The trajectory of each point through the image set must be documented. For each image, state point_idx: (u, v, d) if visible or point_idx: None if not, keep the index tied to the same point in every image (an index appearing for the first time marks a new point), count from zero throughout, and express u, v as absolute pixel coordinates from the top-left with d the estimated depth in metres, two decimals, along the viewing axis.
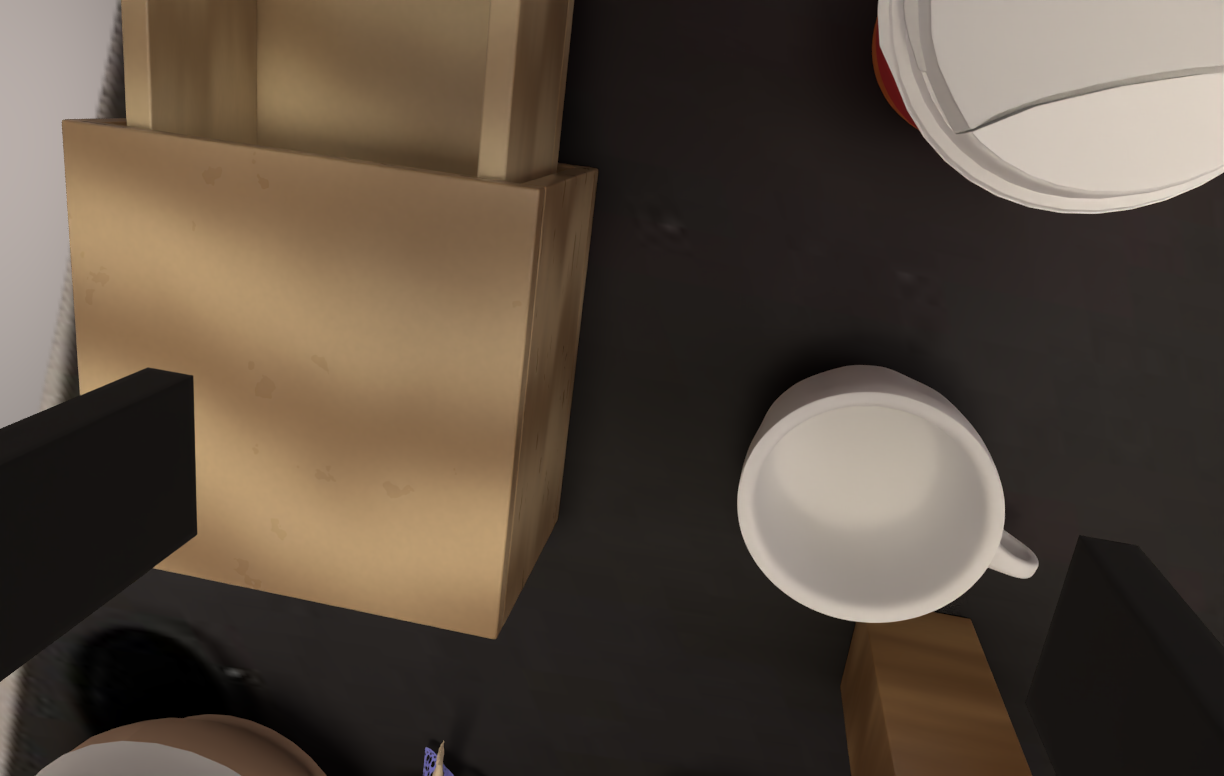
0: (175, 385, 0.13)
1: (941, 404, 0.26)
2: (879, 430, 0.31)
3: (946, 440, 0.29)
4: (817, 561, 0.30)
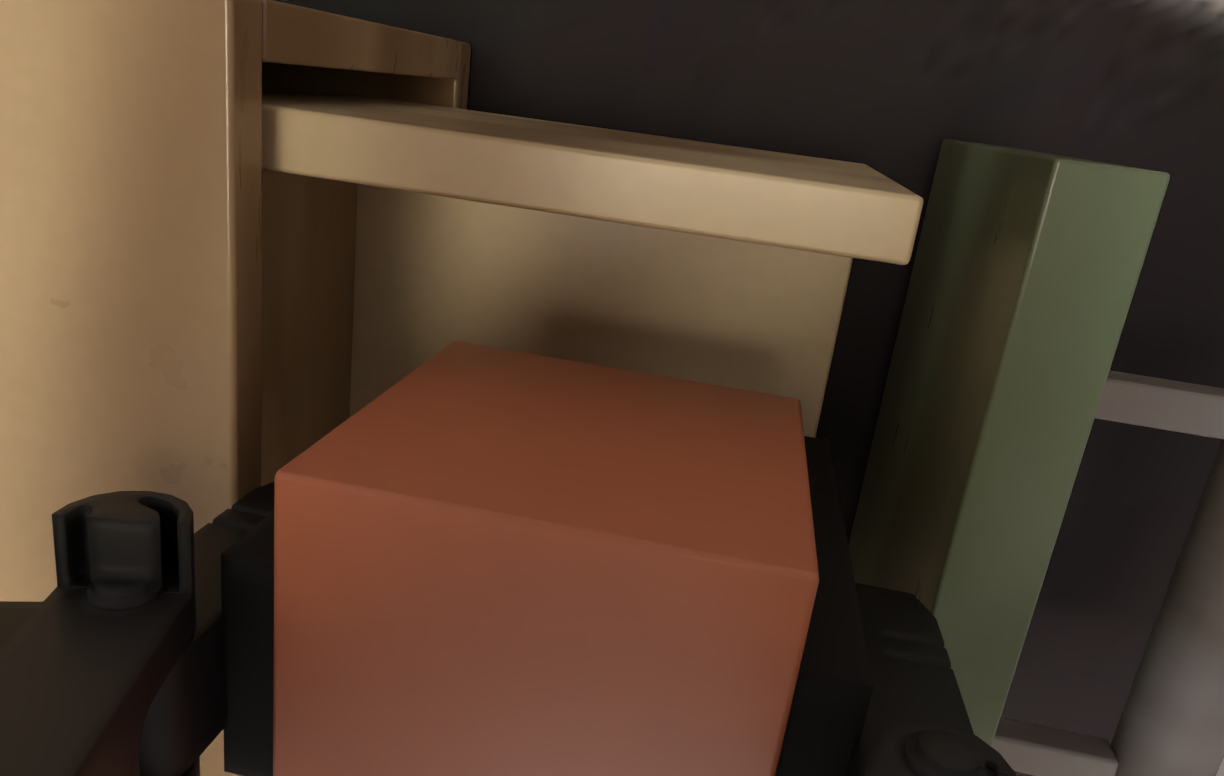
0: None
1: None
2: None
3: None
4: None
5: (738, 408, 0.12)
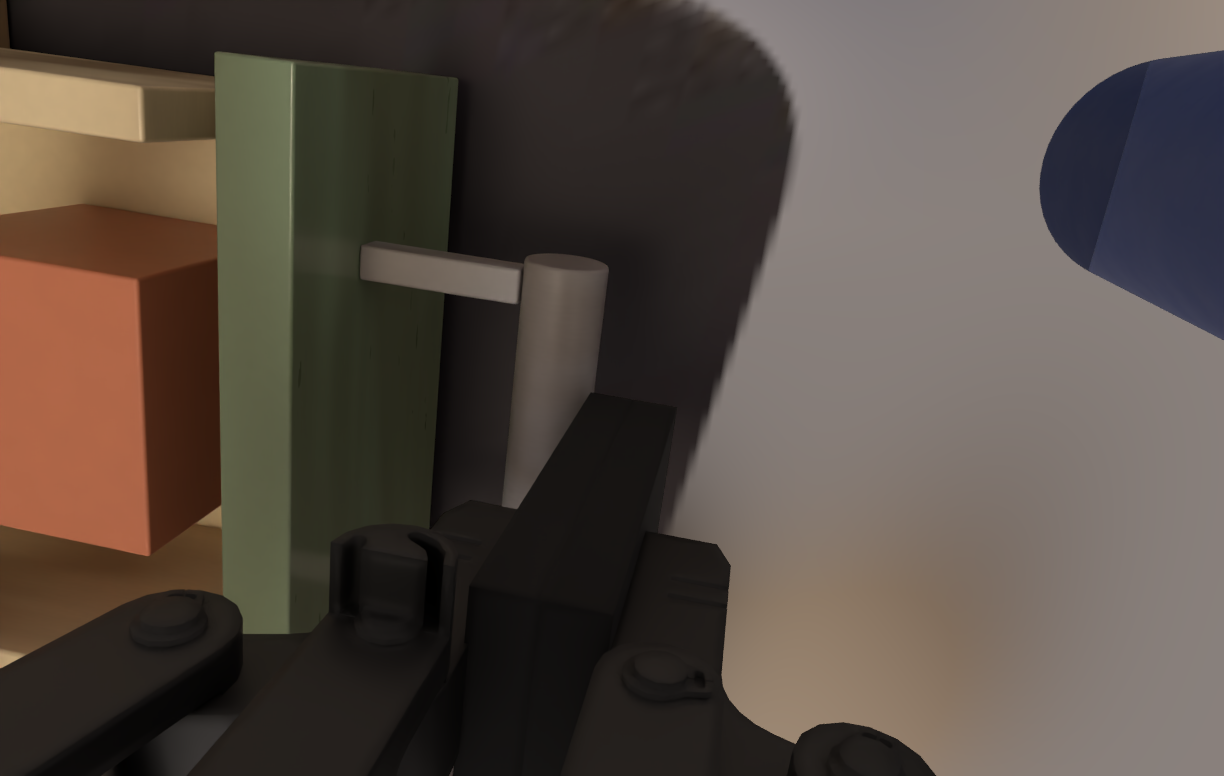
0: None
1: None
2: None
3: None
4: None
5: None
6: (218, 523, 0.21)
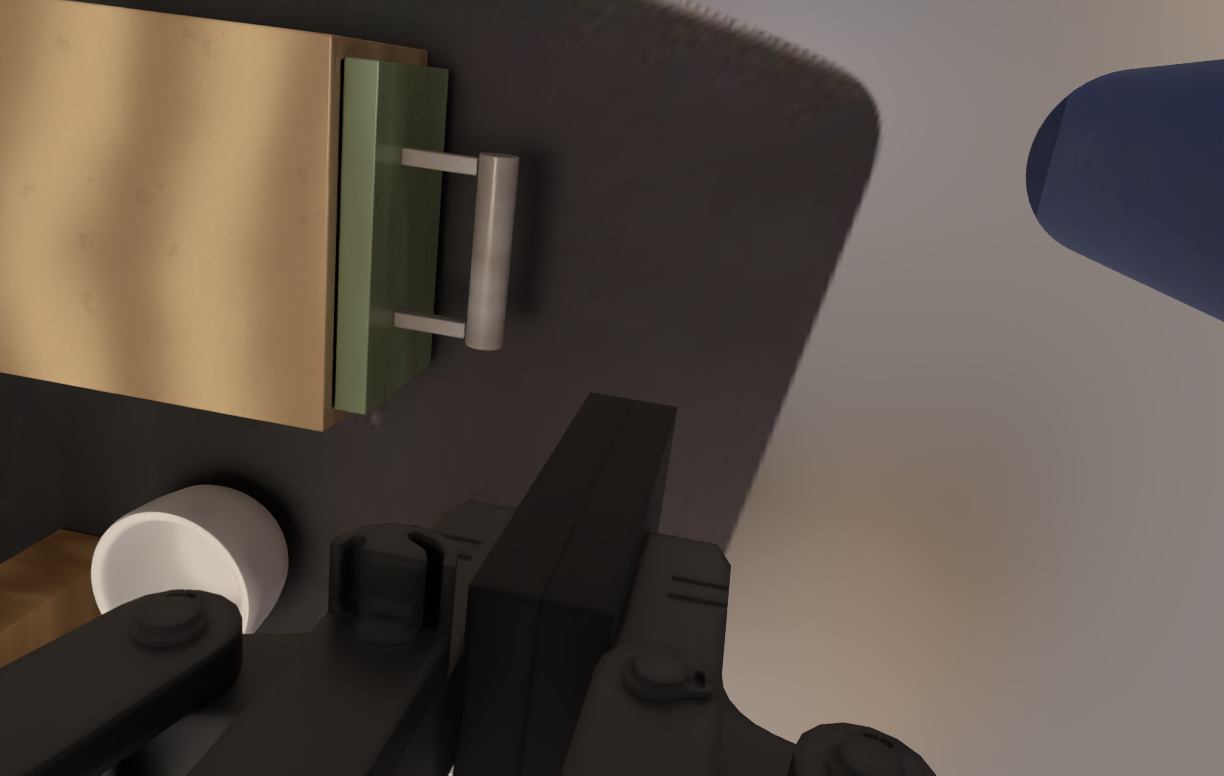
0: None
1: (250, 631, 0.40)
2: None
3: None
4: (137, 542, 0.41)
5: None
6: None
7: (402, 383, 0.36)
